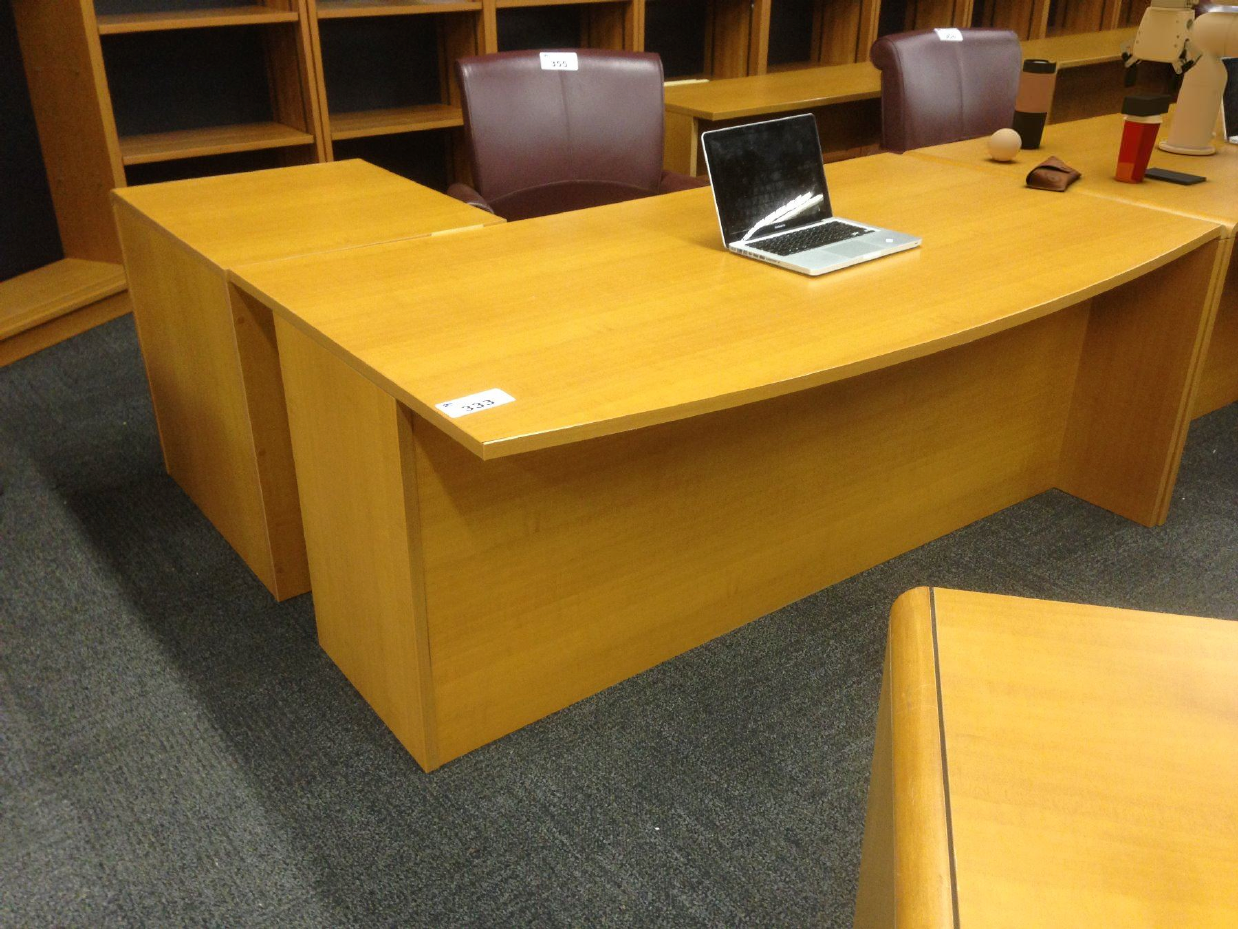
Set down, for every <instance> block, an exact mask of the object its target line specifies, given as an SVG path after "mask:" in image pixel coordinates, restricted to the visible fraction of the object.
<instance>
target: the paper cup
mask: <svg viewBox="0 0 1238 929" xmlns="http://www.w3.org/2000/svg"><path fill="white" fill-rule="evenodd" d="M1122 120H1124V123H1123V128H1122V134H1121V140H1120V146H1119V151H1118V158H1117V163H1116V168H1115V169H1116V170H1115V176H1114V179H1115V181H1118V182H1121V183H1122V182H1123V183H1128V184H1129V183H1130V184H1140V183H1143V181H1144V178H1145V177H1144V175H1145V172H1146V169H1148V166H1149V164H1150V163H1149V162H1150V160H1151V156H1152V154H1153V149H1154V147H1155V144H1156V140H1157V136H1158V133H1159V131H1160V128H1161V124H1162V123H1164V120H1163V116H1162V114H1159V115H1153V116H1147V117H1138V116H1132V115H1125V116H1124V117H1122Z"/></svg>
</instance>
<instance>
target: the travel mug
mask: <svg viewBox="0 0 1238 929" xmlns="http://www.w3.org/2000/svg"><path fill="white" fill-rule="evenodd" d="M1022 64H1023V65H1022V70H1021V74H1020V75H1021V76H1020V79H1019V85H1018V90H1017V94H1016V95H1017V96H1016V100H1015V105H1014V110H1013V116H1012V117H1013V118H1012V124H1011V129H1012V130H1014V131H1015V132H1017V133H1018V135H1019V136H1020V138H1021V146H1022V147H1021V148H1020V150H1037V149H1039V148H1040V146H1041V142H1042V137H1043V132H1044V130H1045V129H1044V128H1045V125H1046V120H1047V115H1048V111H1049V106H1050V102H1051V96H1052V90H1053V85H1054V80H1055V74H1056V69H1057V65H1058V62H1057V61H1055V62H1050V61H1049V59H1044V58H1043V59H1041V58H1028V59H1024V60H1023V63H1022Z"/></svg>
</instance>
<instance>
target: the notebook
mask: <svg viewBox="0 0 1238 929" xmlns="http://www.w3.org/2000/svg"><path fill="white" fill-rule="evenodd" d="M1144 178H1147V179H1152V180H1158V181H1161V182H1166V183H1172V184H1176V185H1177V184H1178V185H1182V186H1192V185H1196V184H1199V183H1203V182H1206V181H1207V177H1205V176H1201V175H1197V174H1196V175H1195V174H1190V173H1186V172H1180V171H1177V170H1170V169H1164V168H1159V167H1155V166H1154V167H1150V168H1147V169H1146V172H1145V175H1144Z"/></svg>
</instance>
